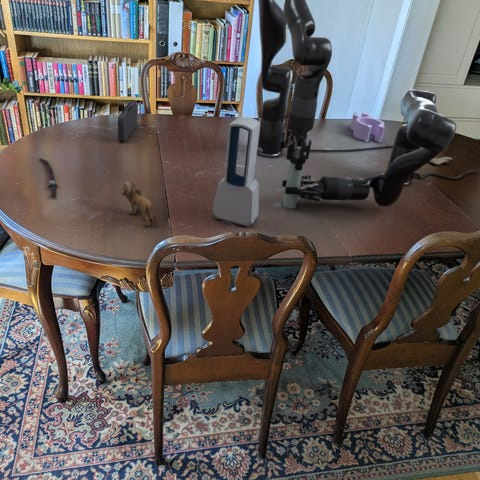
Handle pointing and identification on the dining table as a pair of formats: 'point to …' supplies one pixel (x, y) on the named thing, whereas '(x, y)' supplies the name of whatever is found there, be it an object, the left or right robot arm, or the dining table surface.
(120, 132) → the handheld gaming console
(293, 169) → the pale green tube
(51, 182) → the sword
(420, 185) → the dining table surface
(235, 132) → the electronic device
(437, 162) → the jawbone
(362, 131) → the clip
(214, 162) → the dining table surface
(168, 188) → the dining table surface
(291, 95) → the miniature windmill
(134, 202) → the lion figurine
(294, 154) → the lid
